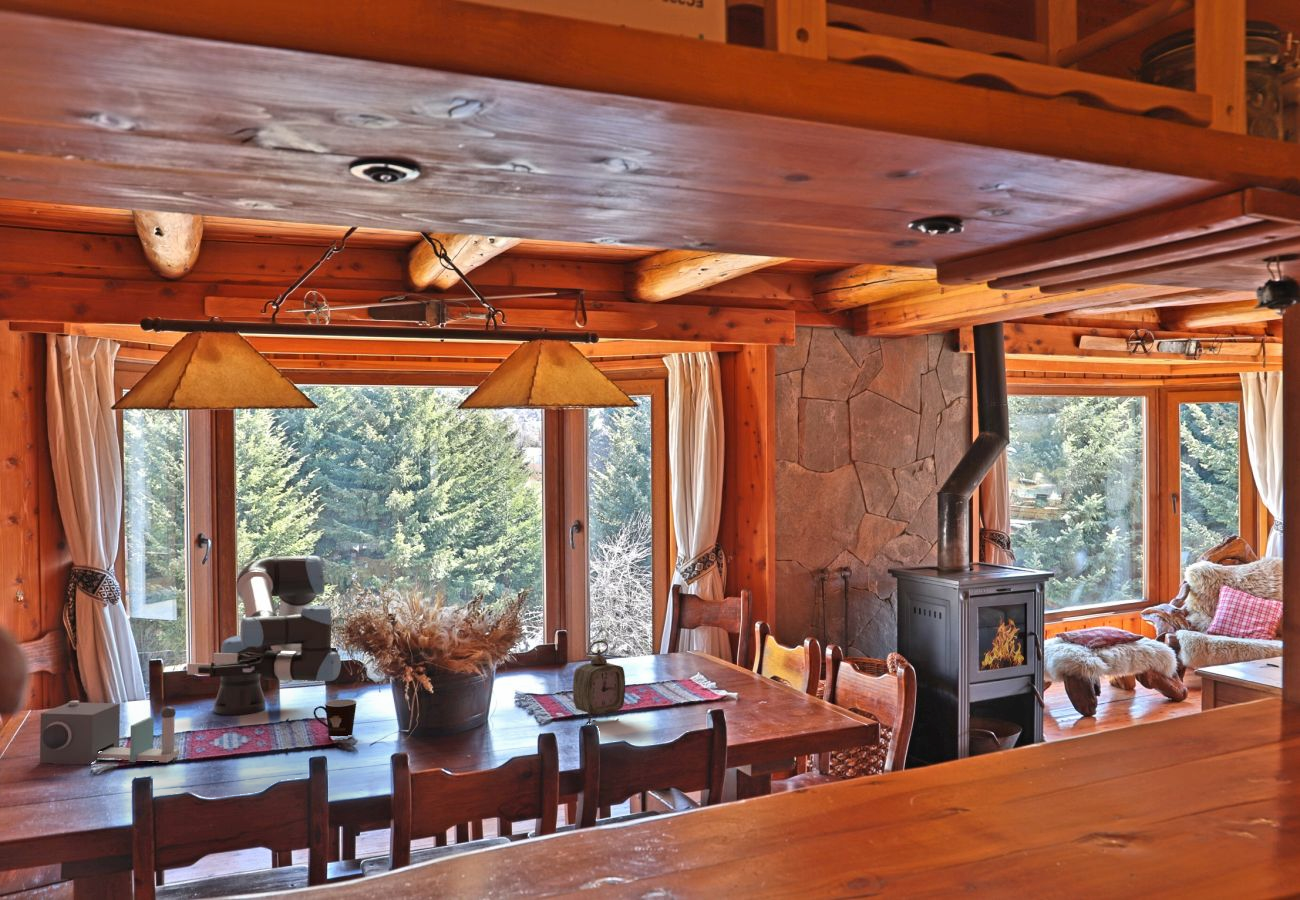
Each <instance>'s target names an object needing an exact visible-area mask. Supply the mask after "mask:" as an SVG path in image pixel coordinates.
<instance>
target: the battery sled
mask: <svg viewBox="0 0 1300 900" xmlns="http://www.w3.org/2000/svg"><path fill="white" fill-rule="evenodd" d="M160 714H161V748H154V716H149V717H147V718H144V719H143V720H140V721H138V722H136V723H134V724H131V725H130V737H129V738H130V739H129V740H130V742H129V743H130V745H129V746H130V747H119V748H116V747H110V748H108V749H106V750H104V751H102V752H100V753H98V758H115V759H124V760H130V761H129V763H130V762H135V761H136V760H154V761H159V762H158V763H169V762H171V761H172V760H174V759H176V758H178V757H179V756H180V749H179V748H177V749H176V748H175V726H176V725H175V724H176V723H175V722H176V721H175V716H176V709H175V708H174V707H172V706H166V707H164V708H162V711H161V713H160ZM178 755H179V756H178ZM177 756H178V757H177ZM175 757H176V758H175ZM173 758H174V759H173ZM135 763H136V762H135Z"/></svg>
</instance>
